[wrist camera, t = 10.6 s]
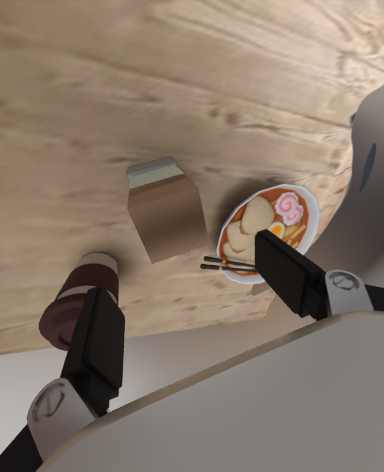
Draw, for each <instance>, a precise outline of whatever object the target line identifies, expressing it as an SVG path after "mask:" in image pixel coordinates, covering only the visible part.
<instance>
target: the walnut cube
mask: <svg viewBox="0 0 384 472" xmlns="http://www.w3.org/2000/svg"><path fill="white" fill-rule="evenodd" d="M127 209H128V211H129V213H130V216H131V218H132V220H133V222H134V224H135V227H136V229H137V231H138V233H139V236H140V238H141V240H142V242H143V244H144V247H145V249H146V251H147V253H148V255H149V258H150V260H151V262H152V264H153V263H156V262H159V261H162V260H165V259H168V258H171V257H173V256H176V255H179V254H182V253H185V252H188V251H191V250H194V249H197V248H200V247H202V246H205V245H208V244H209V240H208V235H207V230H206V225H205V220H204V215H203V210H202V205H201V200H200V195H199V189H198V187H197V186H196V185H195V184H194V183H193V182H191V181H190V180H189V179H188V178H187V177H186V176H185V175H184V174H179V175H176V176H172V177H169V178H165V179H162V180H158V181H155V182H152V183H148V184H145V185H141V186H138V187H134V188H131V189H130V191H129V199H128V208H127Z"/></svg>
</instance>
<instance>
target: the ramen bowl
mask: <svg viewBox="0 0 384 472" xmlns="http://www.w3.org/2000/svg"><path fill="white" fill-rule="evenodd" d="M320 215H321V214H320V210H319V206H318V202H317V198H316V197H315V196H314V195H313V194H312V193H311V192H310V191H309V190H308V189H307V188H306V187H304V186H298V185H291V184H281V185H277V186H274V187H271V188H267V189H264V190H261V191H258V192H255V193H253V194H252V195H250V196H249V197H248V198H247V199H245V200H244V201H243V202H241V203H240V204H239V205H237V206H236V207H235V208H234V209H233V211H232V212H231V214H230V215H229V216H228V218H227V219H226V221H225V222H224V224H223V225H222V228H221V232H220V236H219V240H218V243H217V249H216V252H217V258H213V257H207V256H205V257H204V260H205V261H210V262H217V263H218V264H219V266H216V265H207V264H201V266H200V267H201V269H215V270H221V271H222V272H223V273H224V275H225V276H226V277H227V278H228V279H229V280H231V281H234V282H237V283H240V284H243V285H246V284H259V283H262V282H265V280H264V279H263V278H262V277H261V275H260V274H259V273H258V272H257V271H256V269H255V235H256V234H257V232H258V231H261V230H264V229H268V230H269V231H271V232H272V233H273V234H275V235H276V236H277V237H279V238H280V239H282V240H283V241H284V242H286V243H287V244H288V245H290V246H291V247H293V248H294V249H295V250H297V251H298V252H299V253H301V254H302V255H304V253H305V252H306V251H307V250H308V248H309V246H310V245H311V243H312V241H313V239H314V237H315V235H316V234H317V229H318V225H319V220H320Z"/></svg>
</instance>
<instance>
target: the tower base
mask: <svg viewBox="0 0 384 472" xmlns="http://www.w3.org/2000/svg"><path fill="white" fill-rule="evenodd" d="M171 165H175V166H177V162H176V161H175V160H173V159H172V158H170V157H167V158H163V159H159V160H155V161H151V162H147V163H143V164H139V165H135V166H131V167H128V170H127V174H126V175H127V177H128V180H129V183H130V178H131V177H132V176H135V175H139V174H142V173H146V172H149V171H153V170H157V169H160V168H164V167H167V166H171Z"/></svg>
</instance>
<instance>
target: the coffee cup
mask: <svg viewBox="0 0 384 472" xmlns="http://www.w3.org/2000/svg"><path fill="white" fill-rule="evenodd" d="M96 286H101V287H105V288H106V289H107V291H108V292H109V294H110V295H111V297H112V298H113V300H114V301H115V303H116V304H117V305H118V293H119V279H118V266H117V263H116V261H115V260H114V259H113V258H112V257H111V256H109V255H107V254H104V253H91V254H88V255H86V256H84V257H83V258H82V259H81V260H80V261H79V262H78V264H77V266H76V267H75V269H74V270H73V271H72V272H71V273H70V275H69V277H68V278H67V280H66V282H65V283H64V285H63V287H62V288H61V290H60V292H59V293H58V295H57V297H56V299H55V301H54V302H52V303H51V304H50V305H49V306H48V307H47V308H46V310H45V311H44V313H43V315H42V317H41V319H40V322H39V330H40V333H41V334H42V336H43V337H44V338H45V339H47V340H48V341H49V342H50V343H51V344H52V345H53V346H54V347H56V348H58V349H61V350H64V351H68V349H69V346H70V342H71V339H72V335H73V332H74V329H75V325H76V322H77V320H78V319H79V318H80V314H81V311H82V307H83V304H84V301H85V297H86V294H87V291H88V289H90V288H93V287H96Z"/></svg>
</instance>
